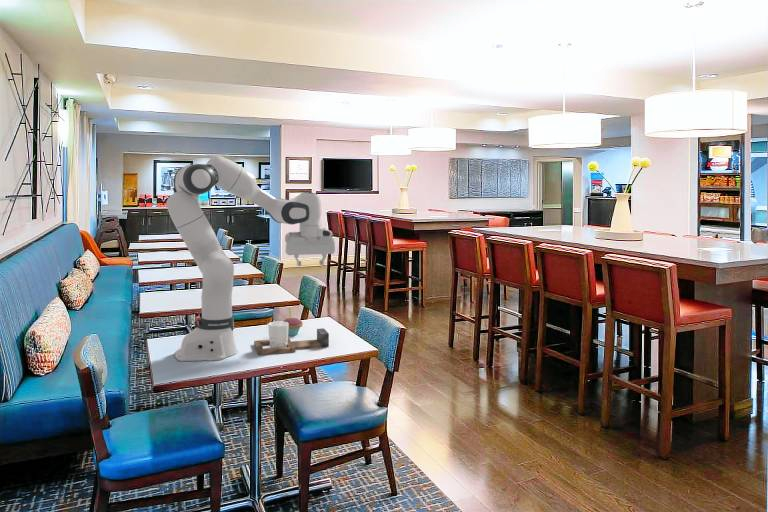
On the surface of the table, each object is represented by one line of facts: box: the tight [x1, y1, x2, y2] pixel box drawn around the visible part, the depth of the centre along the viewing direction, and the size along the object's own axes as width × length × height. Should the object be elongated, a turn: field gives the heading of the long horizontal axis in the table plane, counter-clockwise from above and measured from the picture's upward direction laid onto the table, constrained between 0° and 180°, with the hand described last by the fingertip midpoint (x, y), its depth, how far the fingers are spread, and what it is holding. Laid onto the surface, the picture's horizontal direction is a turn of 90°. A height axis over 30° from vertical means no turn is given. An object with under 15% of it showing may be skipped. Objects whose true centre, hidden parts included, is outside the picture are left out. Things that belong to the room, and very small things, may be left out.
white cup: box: [267, 320, 289, 349], centre depth 227 cm, size 8×8×10 cm
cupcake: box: [283, 305, 303, 337], centre depth 247 cm, size 9×8×12 cm
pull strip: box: [253, 327, 330, 356], centre depth 230 cm, size 28×14×6 cm, turn 109°
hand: (310, 265), depth 238 cm, fingers open, 8 cm apart
